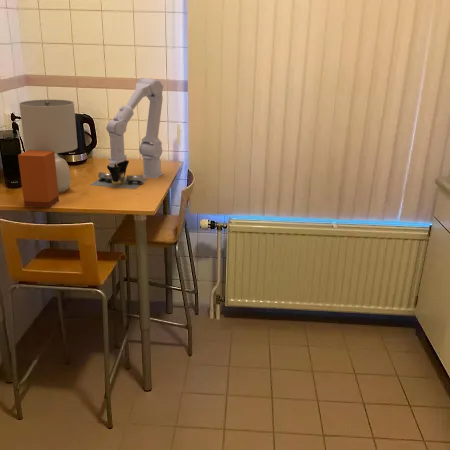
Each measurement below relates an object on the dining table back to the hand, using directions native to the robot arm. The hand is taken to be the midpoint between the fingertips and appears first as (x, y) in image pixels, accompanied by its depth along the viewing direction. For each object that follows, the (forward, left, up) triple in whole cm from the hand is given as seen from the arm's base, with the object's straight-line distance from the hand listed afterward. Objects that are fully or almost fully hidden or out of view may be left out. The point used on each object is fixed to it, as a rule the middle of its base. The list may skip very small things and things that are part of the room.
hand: (119, 179), depth 217 cm
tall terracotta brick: (+31, -19, -3) cm, 36 cm away
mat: (-2, -1, -3) cm, 4 cm away
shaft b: (-2, +7, -3) cm, 7 cm away
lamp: (+15, -22, -3) cm, 27 cm away
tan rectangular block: (0, 0, -2) cm, 2 cm away
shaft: (-2, -7, -3) cm, 7 cm away
